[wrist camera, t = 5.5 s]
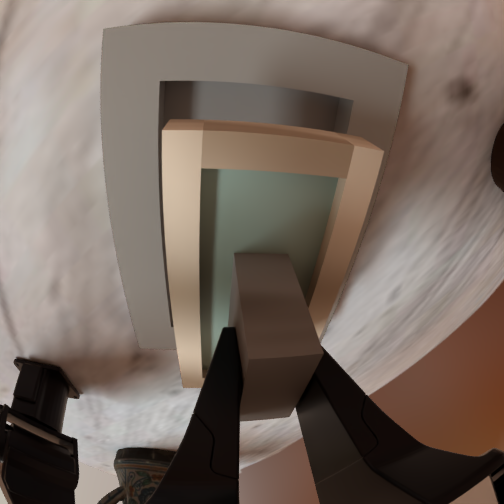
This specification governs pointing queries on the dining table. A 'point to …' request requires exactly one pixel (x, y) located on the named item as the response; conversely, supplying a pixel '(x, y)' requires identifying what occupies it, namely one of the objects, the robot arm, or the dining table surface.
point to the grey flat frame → (220, 108)
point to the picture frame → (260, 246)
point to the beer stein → (138, 474)
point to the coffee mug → (498, 159)
